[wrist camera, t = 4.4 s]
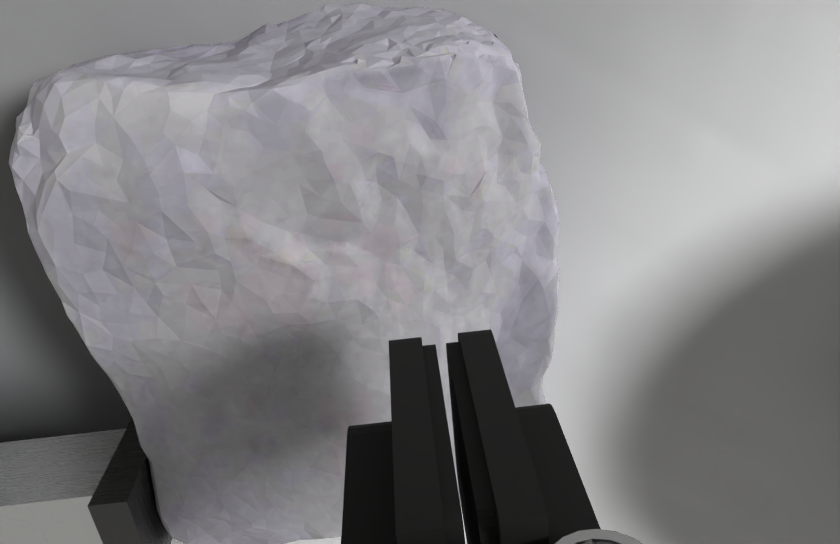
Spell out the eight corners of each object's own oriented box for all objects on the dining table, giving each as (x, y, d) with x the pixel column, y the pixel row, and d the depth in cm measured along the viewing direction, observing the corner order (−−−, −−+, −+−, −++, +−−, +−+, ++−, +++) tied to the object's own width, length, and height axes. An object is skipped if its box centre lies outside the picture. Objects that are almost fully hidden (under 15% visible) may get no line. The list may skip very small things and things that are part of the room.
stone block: (473, -33, 15) (11, 58, 14) (571, -23, 11) (-76, 110, 10) (518, 380, 21) (195, 480, 19) (594, 489, 17) (190, 628, 15)
